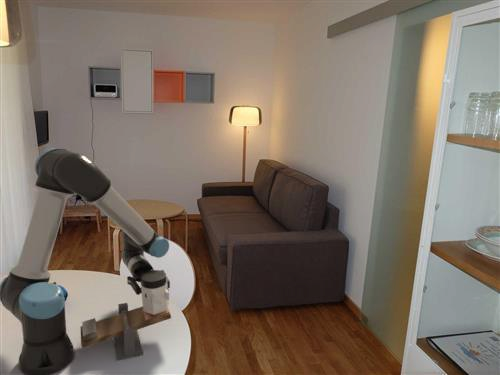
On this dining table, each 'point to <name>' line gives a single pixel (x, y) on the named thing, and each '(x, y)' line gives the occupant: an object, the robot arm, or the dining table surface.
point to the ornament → (63, 291)
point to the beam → (118, 325)
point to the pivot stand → (127, 341)
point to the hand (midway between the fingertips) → (160, 297)
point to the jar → (154, 291)
